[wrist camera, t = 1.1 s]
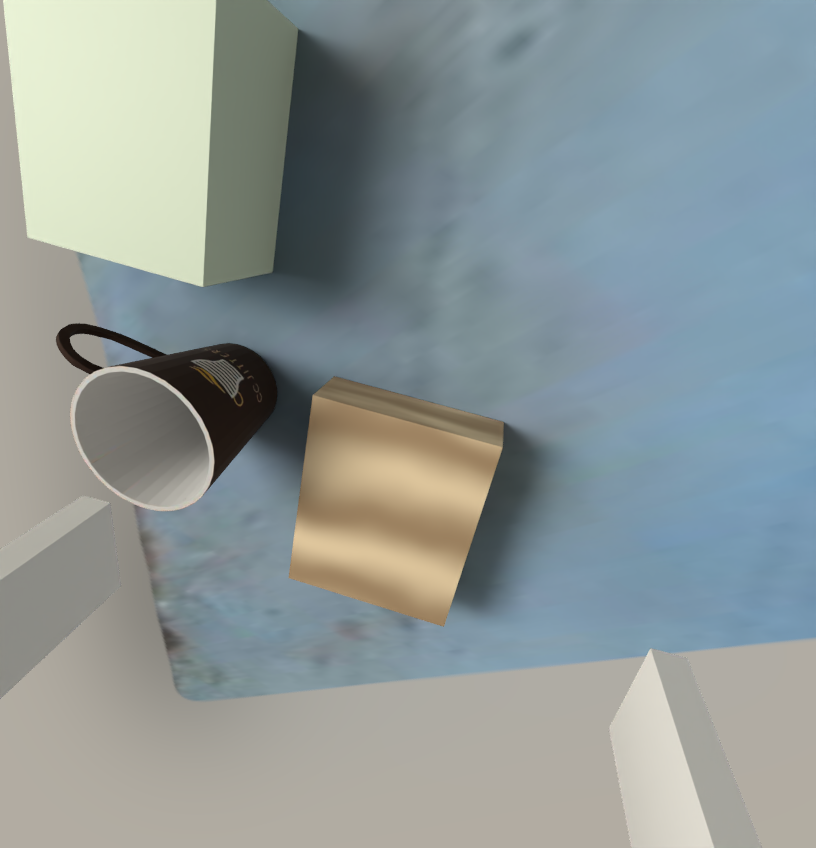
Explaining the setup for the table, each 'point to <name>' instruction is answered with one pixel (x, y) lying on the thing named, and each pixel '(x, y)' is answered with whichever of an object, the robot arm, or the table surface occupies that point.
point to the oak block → (391, 497)
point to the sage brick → (154, 130)
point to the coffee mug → (166, 417)
